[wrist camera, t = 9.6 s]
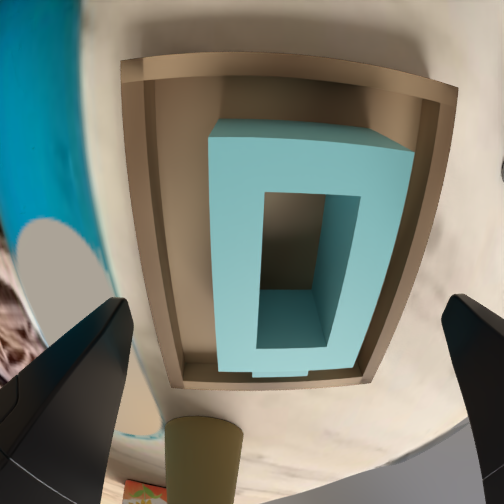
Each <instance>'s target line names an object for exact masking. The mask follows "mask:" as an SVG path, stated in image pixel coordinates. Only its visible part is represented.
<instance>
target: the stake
mask: <svg viewBox="0 0 504 504" xmlns="http://www.w3.org/2000/svg"><path fill="white" fill-rule="evenodd" d="M502 179H503V182H504V163H503V166H502Z"/></svg>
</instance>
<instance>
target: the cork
mask: <svg viewBox="0 0 504 504" xmlns="http://www.w3.org/2000/svg"><path fill="white" fill-rule="evenodd" d="M243 435H244V434H243V432H242V430H241V429H240V428H239V427H237V426H236V425H235V424H232V423H230V422H227V421H225V420H220V419H216V418H212V417H201V416H187V417H181V418H176V419H173V420H171V421H169V422H168V423H167V424H166V426H165V465H166V490H167V504H233V502H234V496H235V489H236V482H237V476H238V469H239V462H240V455H241V449H242V442H243Z"/></svg>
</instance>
